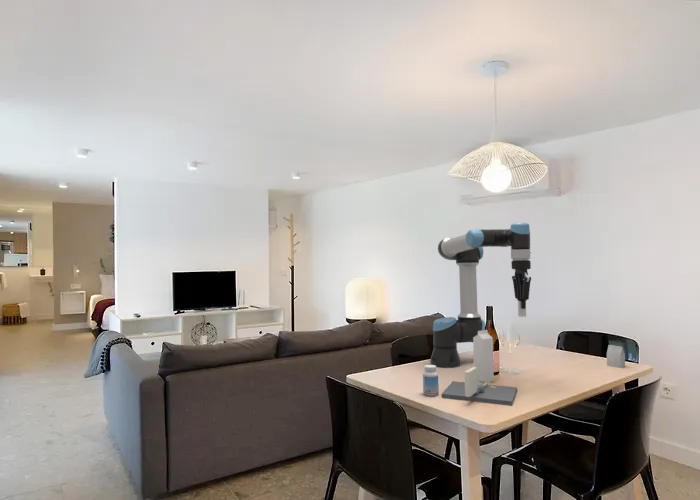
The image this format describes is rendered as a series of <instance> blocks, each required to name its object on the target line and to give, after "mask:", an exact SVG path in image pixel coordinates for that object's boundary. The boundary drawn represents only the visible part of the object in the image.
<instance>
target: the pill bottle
mask: <svg viewBox="0 0 700 500" xmlns="http://www.w3.org/2000/svg"><path fill="white" fill-rule="evenodd" d="M423 367H424V371H423V372H422V390H423V391H422V392H423V395H425V396H428V397H435V396H439V393H440V392H439V391H440V390H439V389H440V388H439V387H440V386H439V373H438V372H437V366H435V365H431V364H426V365H424V366H423Z"/></svg>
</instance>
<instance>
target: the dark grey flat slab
mask: <svg viewBox="0 0 700 500" xmlns="http://www.w3.org/2000/svg"><path fill="white" fill-rule="evenodd" d="M517 392H518V387H516V386H507V385H506V386H505V385H498V384H497V385H495V384H487V385H486V386H485V387H484V392H479V393H478V394H473V395H471V396H470V397H466V396H465V381H454V380H452V381H451V383H450V384H449V385H448V386H447V387H446V388H445V389H444V390H443V391H442V392H441V399H442V398H443V399H450V400H458V401H468V402H475V403H476V402H477V403H487V404H494V405H495V404H497V405H503V406H504V405H505V406H513V404H514V401H515V398H516V396H517Z"/></svg>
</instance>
